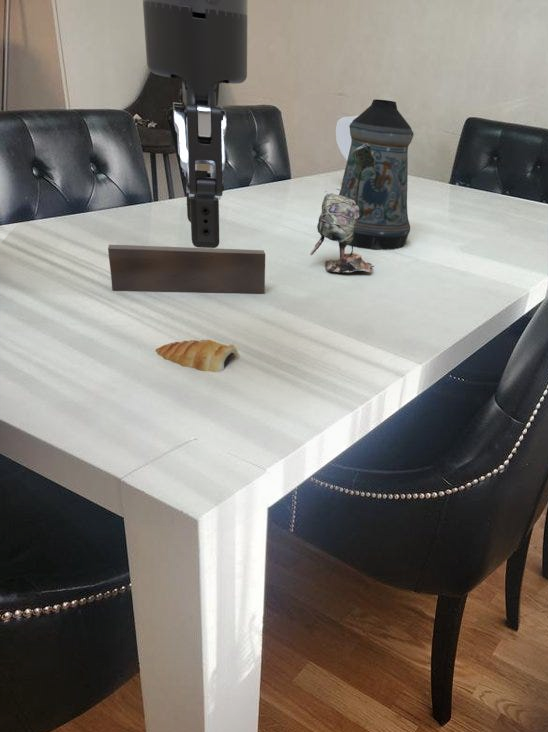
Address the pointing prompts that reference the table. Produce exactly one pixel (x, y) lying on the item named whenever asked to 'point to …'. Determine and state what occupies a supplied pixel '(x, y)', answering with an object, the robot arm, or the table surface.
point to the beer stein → (380, 177)
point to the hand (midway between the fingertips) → (202, 233)
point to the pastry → (199, 354)
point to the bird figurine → (344, 220)
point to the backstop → (186, 269)
